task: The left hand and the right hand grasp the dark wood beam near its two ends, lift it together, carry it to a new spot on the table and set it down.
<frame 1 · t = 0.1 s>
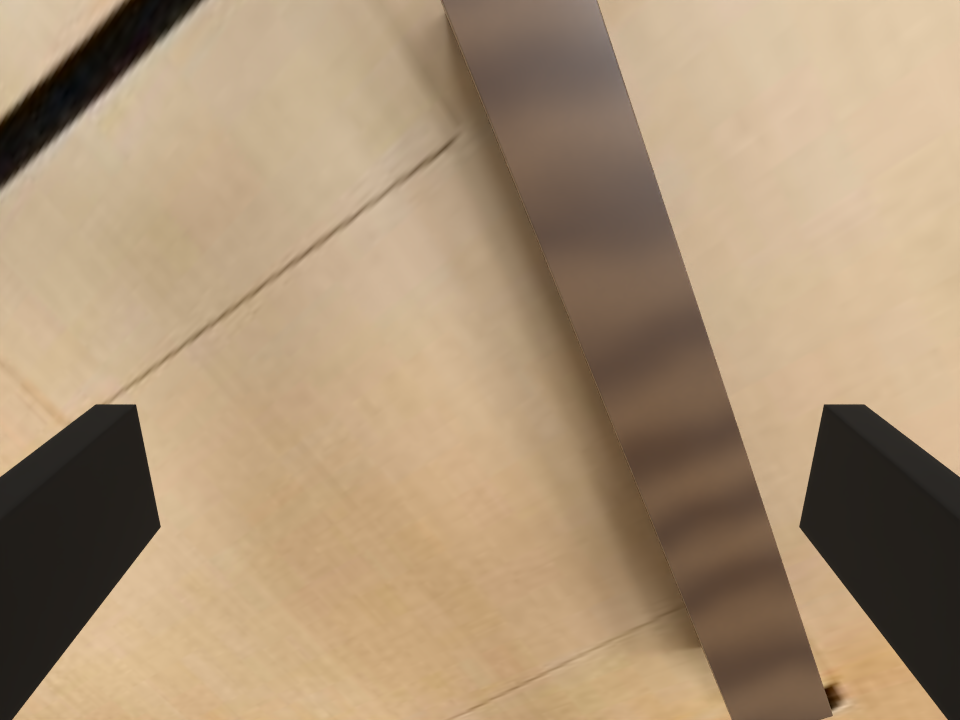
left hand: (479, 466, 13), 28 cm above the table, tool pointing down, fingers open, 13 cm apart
beam: (640, 369, 42), on the table
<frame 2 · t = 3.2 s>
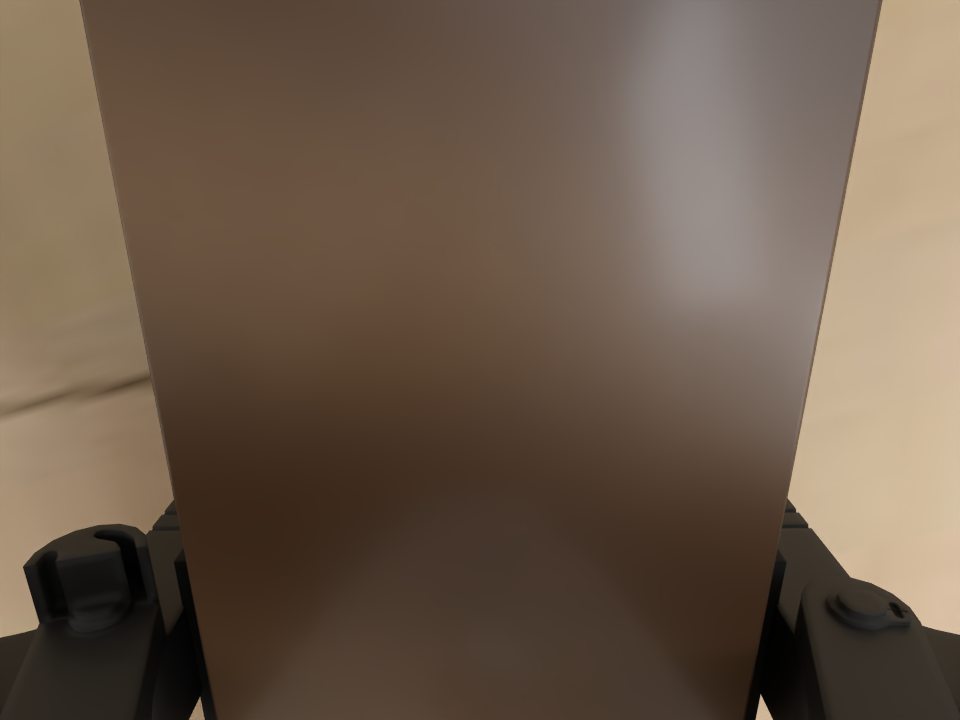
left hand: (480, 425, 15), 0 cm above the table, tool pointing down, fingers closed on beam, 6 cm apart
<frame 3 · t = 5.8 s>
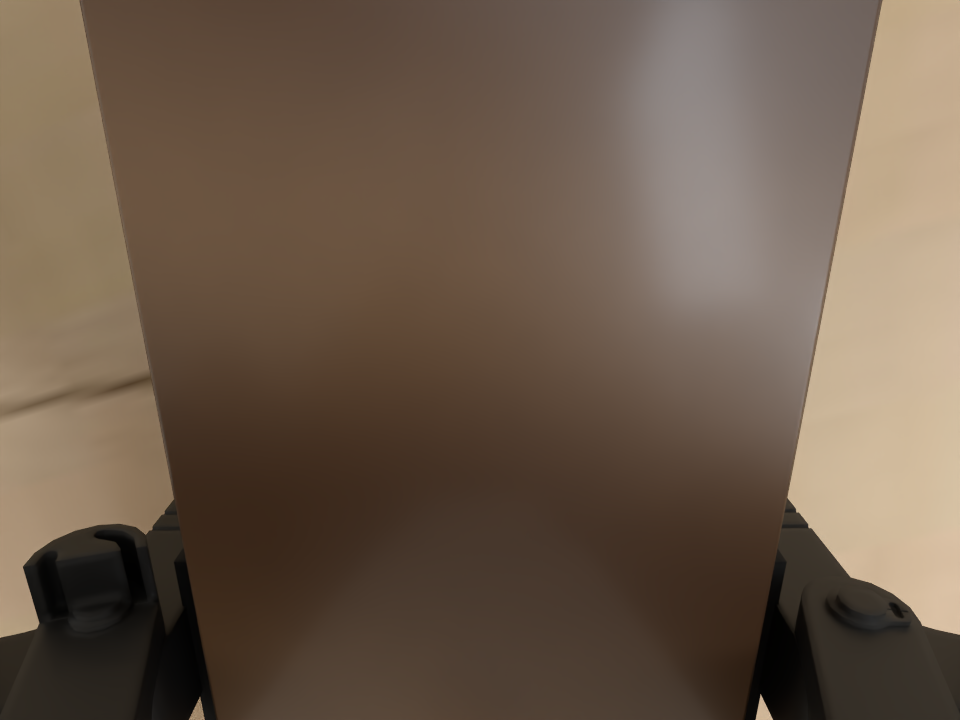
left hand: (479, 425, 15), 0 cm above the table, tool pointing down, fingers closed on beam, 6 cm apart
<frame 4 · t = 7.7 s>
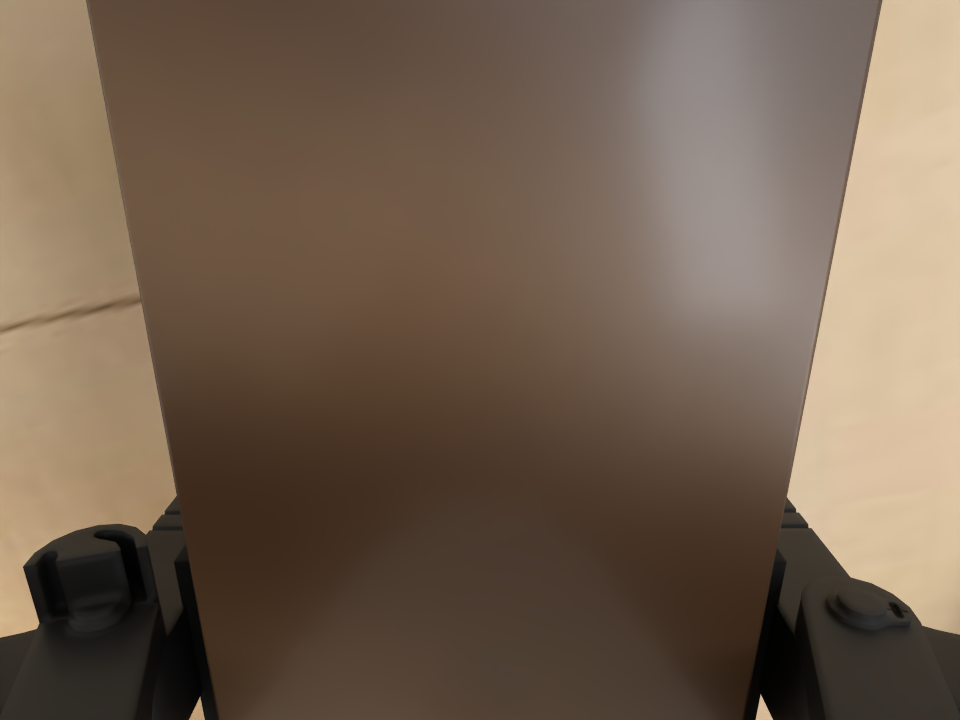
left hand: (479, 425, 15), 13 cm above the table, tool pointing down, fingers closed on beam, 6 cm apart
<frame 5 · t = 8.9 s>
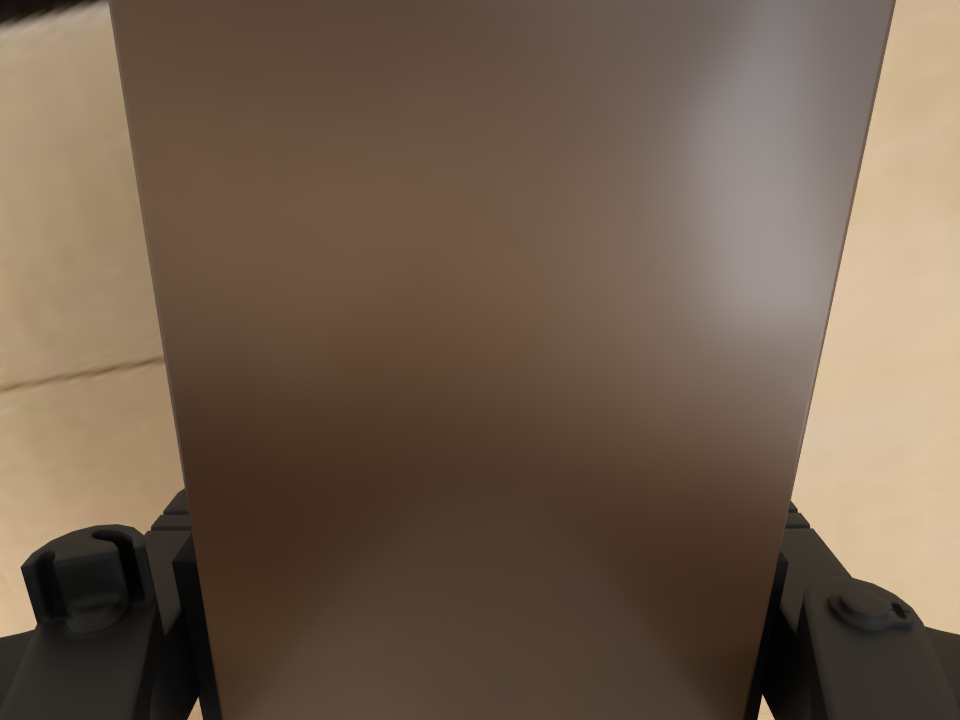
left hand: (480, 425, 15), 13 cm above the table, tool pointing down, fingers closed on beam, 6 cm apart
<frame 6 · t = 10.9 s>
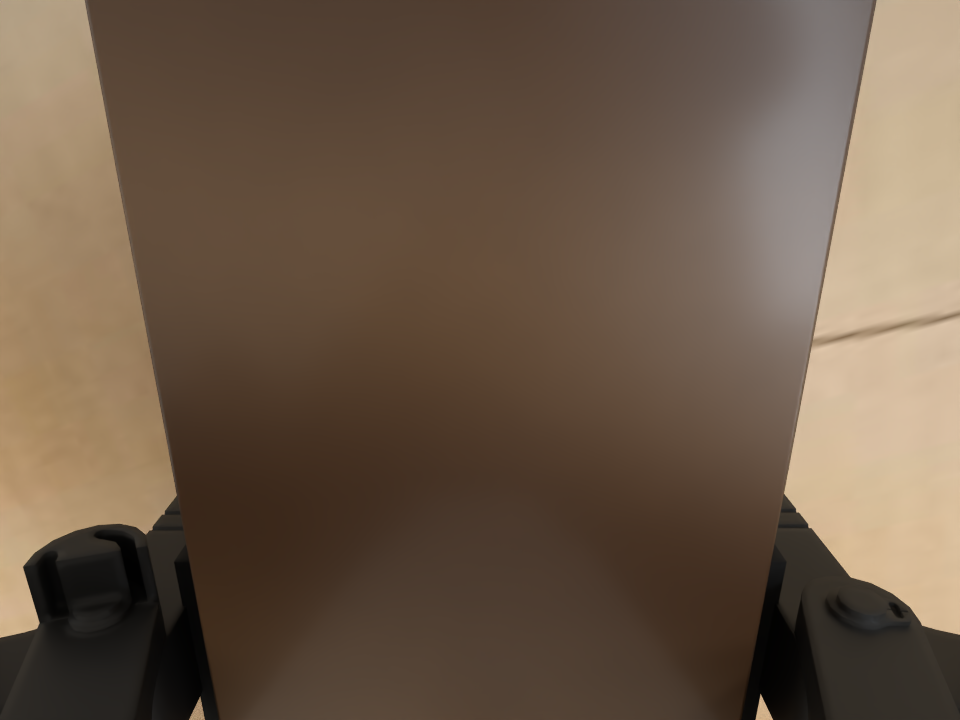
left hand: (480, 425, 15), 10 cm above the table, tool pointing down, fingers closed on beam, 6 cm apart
when the left hand's fingers open (2 cm above the table, at t = 12.2 s): beam drops 1 cm, on the table.
when the right hand's fingers open (2 cm above the table, at t = 12.2 s): beam drops 1 cm, on the table.
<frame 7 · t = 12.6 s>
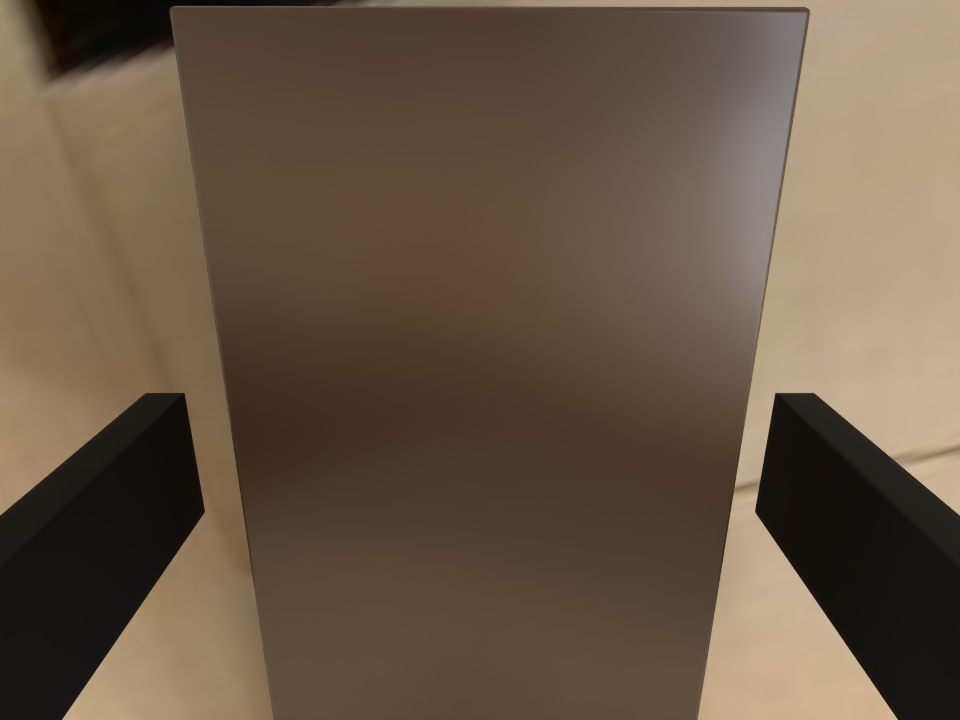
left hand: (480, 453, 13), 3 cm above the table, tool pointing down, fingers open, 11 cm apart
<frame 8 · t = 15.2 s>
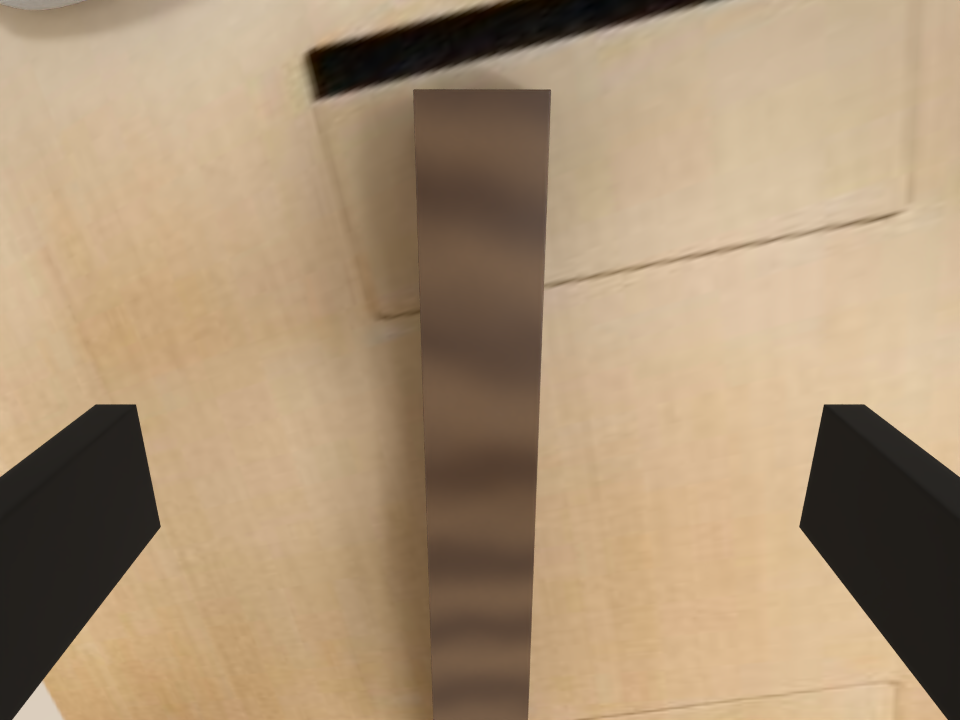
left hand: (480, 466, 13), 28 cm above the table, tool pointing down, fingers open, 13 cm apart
beam: (480, 470, 44), on the table
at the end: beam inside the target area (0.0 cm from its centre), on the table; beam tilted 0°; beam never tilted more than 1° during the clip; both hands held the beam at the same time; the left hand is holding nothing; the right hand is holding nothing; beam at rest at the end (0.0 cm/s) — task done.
